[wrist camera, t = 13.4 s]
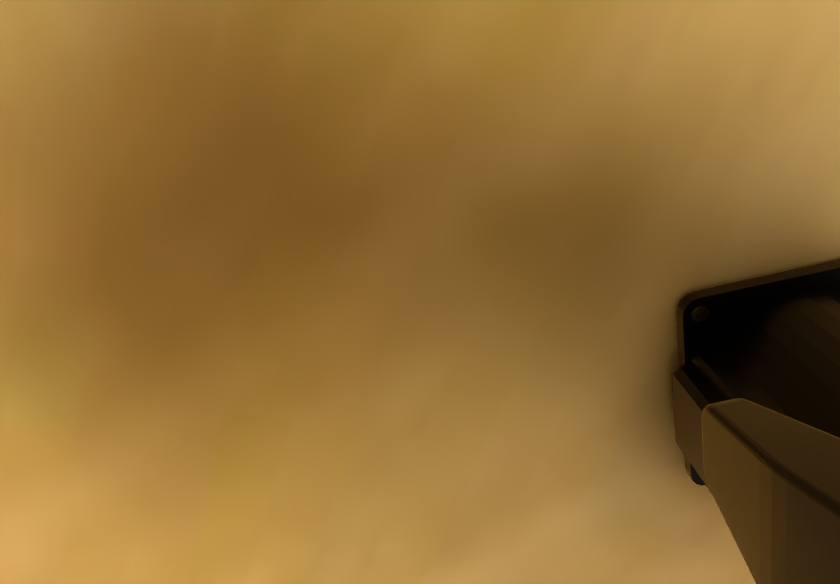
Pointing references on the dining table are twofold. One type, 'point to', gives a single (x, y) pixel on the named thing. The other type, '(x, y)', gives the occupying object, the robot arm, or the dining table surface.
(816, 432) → the robot arm
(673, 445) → the dining table surface
